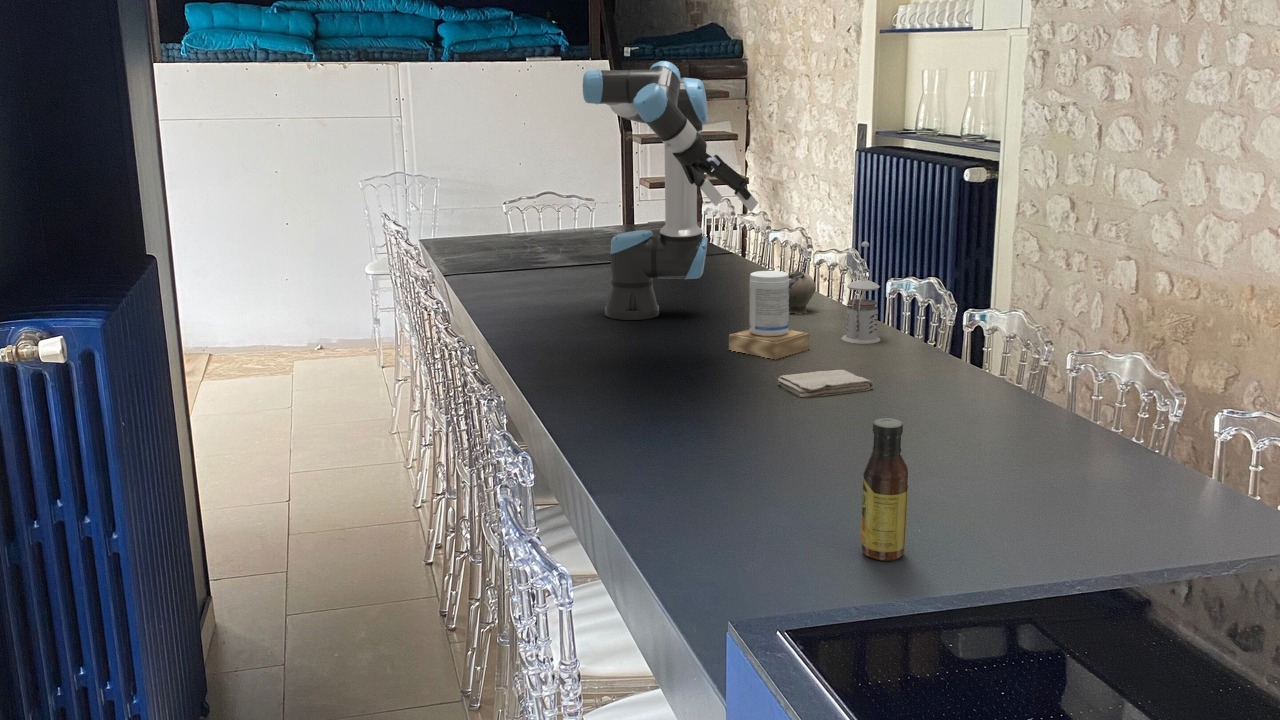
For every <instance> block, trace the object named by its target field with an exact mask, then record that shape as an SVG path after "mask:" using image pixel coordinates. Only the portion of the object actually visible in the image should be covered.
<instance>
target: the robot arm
mask: <svg viewBox="0 0 1280 720" xmlns="http://www.w3.org/2000/svg"><path fill="white" fill-rule="evenodd" d="M705 89H706V88H705V85H704V82H703V81H702V80H701V79H698V78H693V77H691V78H690V77H681V72H680V70H679V68H678V66H676V65H675V64H674V63H672V62H670V61H667V60H661V61H658V62H655V63H653V64H652V66H650V68H649V69H625V70H623V69H622V70H621V69H618V70H617V69H612V70H610V69H606V70H605V69H596V70H591V69H590V70H586V71H585V72H584V73H583V77H582V95H583V100H584V102H585V103H587V104H593V105H594V104H595V105H601V104H602V105H603V104H604V105H607V106H608V107H610V109H611V110H612V112H613V113H614V114H616V115H617V116H619V117H621V118H622V119H623V118H624V119H626V120H629V121H632V122H636V123H641V124H647V126H648V127H649V129H651V131H652V132H654V134H655V135H656V137H658V139H659V140H660V141H661V142H662V143H663V144H664V208H665V209H664V212H665V213H664V215H665V216H664V217H665V218H664V220H665V222H664V223H665V224H664V225H663V227H662V228H661V229H660V230H659V236H658V235H657V236H656V235H654V233H653V231H652V230H650V229H648V230H645V229H644V230H634V231H627V232H626V231H625V232H622V233H618V234H616V235H614V236H613V237H612V238H611V239H610V251H609V254H610V291H609V295H608V297H607V302H606V304H605V307H604V315H605V317H608V318H609V319H610V318H611V319H613V320H620V321H621V320H624V321H639V320H649V319H653V318H657V317H659V315H660V306H659V304H658V303H657V298H656V293H655V290H654V287H653V286H654V284H653V281H654V279H664V280H665V279H669V280H670V279H673V280H674V279H678V280H682V279H683V280H692V279H693V280H694V279H700V278H701V277H702V275H703V273H704V269H705V263H706V256H707V250H708V249H707V248H708V240H709V239H708V238H709V237H707V236H704V235H703V229H702V228H701V227H700V226H699V225H698V222H697V221H698V213H697V212H698V210H697V209H698V204H697V203H698V201H697V200H698V199H697V198H698V193H697V192H698V191H697V190H698V188H699V189H700V191H702V192H703V193H704V195H705V196H706V197H707V198H708V199H709V201H710V202H711V203H712V204H713V205H714V206H718V205H719V204H720V202H721V201H722V200H723V198H724V197H723V195H721V193H720V192H719V190H717V188H716V187H715V186H714V185H713V184H712V183H711V181H710V180H709V179H707V176H706V175H705V174H707V175H708V176H709V177H711V178H716V179H718V181H720V182H722V183H723V184H725V185H726V186H727V187H729V188H730V189H732V190H733V191H734V193H733V194H734V195H735V196H736V197H737V199H738V200H740V202H741V203H742V204H743V205H744V206H745V208H746V209H747V210H748V211H749V212H753V211H754V209H755V208H756V206H757V205H758V204H759V202H758V200H757V199H756V198H755V197H754V196H753V194H752V193H751V192H750V190H749V189H748V188H747V187H746V186H747V185H748V183H749V182H748V180H747V179H745V178H744V177H743V176H741V175H740V174H739V173H738V172H737V171H735V170H734V169H733V168H732V167H731V166H730V165H728V164H727V163H726V162H725V161H724V160H723V159H722V158H721V157H720V156H719V155H718V154H714V155H713V156H712V155H711V154H709V153H707V148H708V147H707V146H708V145H707V141H706V140H705V139H704V138H703V136H701V133H702V132H703V125H706V124H707V123H708V121H709V115H708V111H709V110H708V102H707V94H706V90H705Z"/></svg>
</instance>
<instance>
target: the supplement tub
mask: <svg viewBox="0 0 1280 720" xmlns="http://www.w3.org/2000/svg"><path fill="white" fill-rule="evenodd" d="M789 308H790V307H789V273H788V272H785V271H779V270H758V271H754V272H751V273H750V276H749V318H748V319H749V323H748V324H749V325H748V326H749V330H750V332H751V333H752V334H754V335H758V336H768V337H770V336H780V335H784V334H786V333H787V332H788V330H789V326H790V325H789V324H790V323H789V322H790V321H789V318H790V316H789V315H790V313H789Z"/></svg>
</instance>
